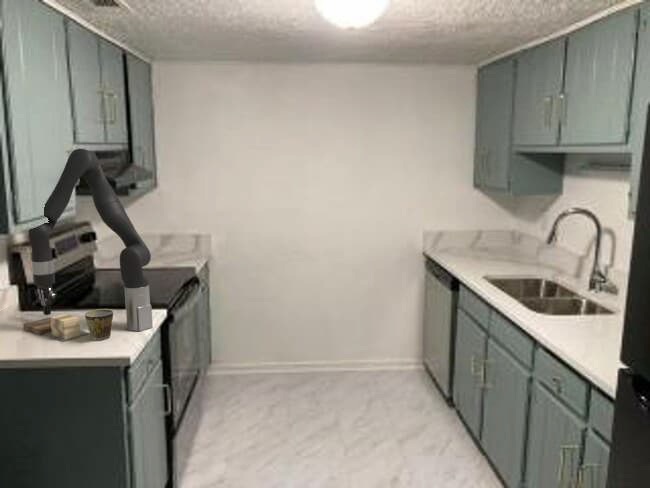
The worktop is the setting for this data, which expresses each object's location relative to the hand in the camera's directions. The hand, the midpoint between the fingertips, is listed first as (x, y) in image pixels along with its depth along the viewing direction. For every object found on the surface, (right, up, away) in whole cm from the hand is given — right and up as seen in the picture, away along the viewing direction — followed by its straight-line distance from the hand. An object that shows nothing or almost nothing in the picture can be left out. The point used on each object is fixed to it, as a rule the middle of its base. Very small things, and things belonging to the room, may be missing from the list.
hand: (47, 314), depth 219 cm
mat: (+10, -7, -5) cm, 13 cm away
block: (+11, -7, -7) cm, 15 cm away
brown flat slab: (-1, -6, +3) cm, 6 cm away
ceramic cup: (+26, -8, -11) cm, 29 cm away
